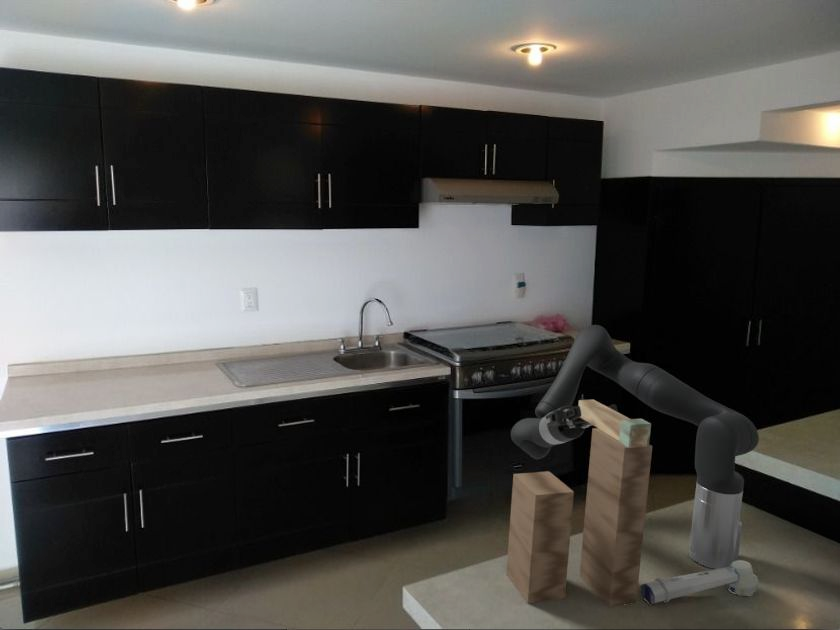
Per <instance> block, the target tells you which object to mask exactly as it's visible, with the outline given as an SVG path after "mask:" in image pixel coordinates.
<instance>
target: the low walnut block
mask: <svg viewBox="0 0 840 630" xmlns="http://www.w3.org/2000/svg"><path fill="white" fill-rule="evenodd" d="M574 494H575V491H574V490H573V489H571V488H570V487H569V486H568V485H567V484H565V482H563V481H561V480H560V479H559V478H558V477H557V476H555V475H554V474H553V473H552V472H550V471H548V470H547V471H537V472H523V473H513V477H512V489H511V502H510V503H511V505H510V518H509V519H510V520H509V534H508V544H507V545H508V548H507V558H506V559H507V560H506V574H505V575H506V576H507V578H508V579H509V581H510V582H511V583H512V585H513V586H514V587H515V589H516V590H517V591H518V592H519V594H520V596H521V597H522V598H523V599H524V601H525V602H526V604H533V603H541V602H547V601H548V602H549V601H554V600H555V601H556V600H562V599H566V588H567V577H568V576H567V575H568V566H569V565H568V564H569V557H570V556H569V554H570V542H571V533H572V532H571V531H572V530H571V529H572V520H573V519H572V518H573V509H574V508H573V507H574V506H573V505H574V496H575V495H574Z"/></svg>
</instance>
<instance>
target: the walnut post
mask: <svg viewBox="0 0 840 630" xmlns="http://www.w3.org/2000/svg"><path fill="white" fill-rule="evenodd" d="M590 444H591V445H590V450H589V455H590V456H589V462H588V463H589V465H588V473H587V474H588V475H587V476H588V477H587V486H586V488H587V489H586V499H585V510H584V519H583V520H584V521H583V522H584V523H583V532H582V542H581V554H580V565H579V566H580V567H579V575H578V576H579V577H580V578H581V579H582V580H583V582H585V584H587V586H588V587H589V588H590V589H591V590H592V591H593V592H594V593H595V594H596V595H597V596H598V598H600V600H601V601H602V602H604V603H605V605H606V606H607V607H608V608H613V607H620V606H621V605H622V606H625V605H624V604H629V605H632V604H631V603H635V604H637V599H638V598H637V597H638V590H639V581H640V580H639V579H640V569H641V560H642V549H643V543H644V542H643V539H644V531H645V520H646V513H647V512H646V511H647V510H646V509H647V504H648V503H647V502H648V492H649V482H650V472H651V466H652V465H651V464H652V463H651V462H652V455H653V454H652V453H653V445H651V444H650V443H649V446H647V447H632V448H628V447H626V446H625V445H623V444H621V443H620V442H619V440H617V439H615V438H614V437H612V436H610V435H609V434H607V433H605V432H604V431H602V430H600V429H599V428H597V427H595V428H594V427H592V431H591V441H590ZM622 606H621V607H622Z"/></svg>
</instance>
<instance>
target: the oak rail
mask: <svg viewBox="0 0 840 630" xmlns="http://www.w3.org/2000/svg"><path fill="white" fill-rule="evenodd" d="M577 406H580V409H581V417H580V418H582V419H583V420H585V421H587V422H588V423H590V424H592V425H591V426H594V427H595V428H599V429H600V430H602V431H604V432H605V433H607V434H609V435H610V436H612V437H614V438H615V439H617V440H619V442H620V443H621V444H623V445H625V446H626V447H628V448H632V447H647V446H649V444H650V438H651V428H652V423H651V422H648V421H647V420H645V419H643V418H629V417H628V416H626V415H624V414H622V413H620V412H616V411H614V410H612V409H610V408H609V407H607V406H606V405H605V404H602V403H601V402H599V401H597V400H595V399H579V400H578V405H577Z"/></svg>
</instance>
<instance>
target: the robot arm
mask: <svg viewBox="0 0 840 630" xmlns="http://www.w3.org/2000/svg"><path fill="white" fill-rule="evenodd" d="M586 367H588V368H590V369H591V370H592V371H595V372H597V373H599V374H601V375H603V376H604V377H607V378H608V379H610V380H612V381H614V382H615V383H617V384H618V385H619V386H620V387H622V388H623V389H625V390H626V391H627V392H629V393H630V394H631V395H633V396H635V397H636V398H637V399H638V400H640V401H641V402H642V403H644V404H645V405H647V406H649V407H650V408H651V409H653V410H655V411H657V412H660V413H661V414H665V415H667V416H670V417H673V418H677V419H680V420H682V421H686V422H688V423H691V424H693V425H695V426H697V427H698V428H697V432H696V440H695V451H694V452H695V453H694V469H695V472H696V475H697V476H696V484H695V485H696V486H695V487H696V488H695V493H694V501H693V509H692V510H693V511H692V518H691V519H692V520H691V527H690V528H691V529H690V536H689V538H690V539H689V545H688V546H689V547H688V553H689V554H688V556H689V557H690V559H691V560H692V561H694V562H695V561H696V562H695V563H697V562H698V563H697V564H699V565H701V566H703V565H704V567H707V568H709V569H713V570H715V569H720V568H726V567H730V566H731V564H732V563H733V562H734V561H737V560H739V552H740V546H741V540H742V539H741V538H742V537H741V536H742V529H743V523H742V521H740V516H741V510H742V509H741V507H742V500H743V494H744V488H745V487H744V485H745V479H744V477H743V475H741V474H740V473H739V472H737V471H735V469H736V467H735V465H736V457H738V456H742V455H746V454H748V453H750V452H751V451H754V449H756V447H757V446H758V444H759V442H760V441H759V440H760V439H759V432H758V430H757V427H756V425H755V424H754V423H753V421H752V420H750V419H749V418H748V417H746V416H745V415H744V414H742V413H740V412H738V411H736V410H734V409H733V408H729V407H727V406H725V405H723V404H721V403H719V402H717V401H715V400H713V399H711V398H710V397H707V396H706V395H704V394H702V393H700V392H699V391H698V390H696V389H695V388H693V387H691V386H689V385H688V384H687V383H684V382H683V381H682V380H680V379H679V378H677V377H675V376H674V375H672V374H671V373H669V372H667V371H666V370H664V369H662V368H660V367H659V366H657V365H654V364H652V363H646V362H637V361H633V360H632V359H630V358H628V357H627V356H626V355H624V354H622V352H620V351H619V350H618V348H616V346H615V344H614V343H613V340H612V337H611V336H610V334H609V332H608V330H607V329H606V328H605V327H603V325H602V326H601V325H599V324H592V325H590V324H589V325H587V326H586V327H584V328H582V329H581V330H580V331H579V332H578V334H577V335H576V337H575V338H574V341H573V342H572V345H571V347H570V349H569V351H568V354H567V356H566V357H565V360H564V362H563V364H562V366H561V367H560V370H559V372H558V373H557V375H556V378H555V379H554V380H553V383H552V384H551V386H550V387H549V389H547V391H546V393H545V394H544V395H543V397H542V398H541V400H540V401H539V403H538V404H537V406H536V407H535V410H534V413H535V415H536V417H526V418H523V419H520V420H519V421H517V422H516V423H515V424H514V425H513V427H512V428H511V430H510V438H511V441H512V442H513V443H514V444H515V445H516V446H517V447H518V448H520V449H521V450H522V451H524V452H525V454H527V455H529V456H530V457H531V458H533V459H534V460H540V459H541V460H542V459H543V458H545V457H546V456H547V455H548V454H549V453H550V451H551V449H552V447H554V446H556V445H560V444H561V445H562V444H564V443H568V442H570V441H573V440H575V439H577V438H580V437H581V436H582V435H583V433H584V432H585V430H586V428H589V427H591V426H593V425H592V424H590V423H588V422H587V421H585V420H583V419H582V418H580V417H581V409H580V406H578V405H577V406H572V405H573V403H574V401H575V398H576V396H577V393H578V389H579V385H580V382H581V379H582V376H583V374H584V371H585V370H586ZM607 407H609V408H610V409H612V410H614V411H616V412H618V411H619V410H618V406H617V405H616V404H610V405H608V406H607ZM618 413H619V412H618Z"/></svg>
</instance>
